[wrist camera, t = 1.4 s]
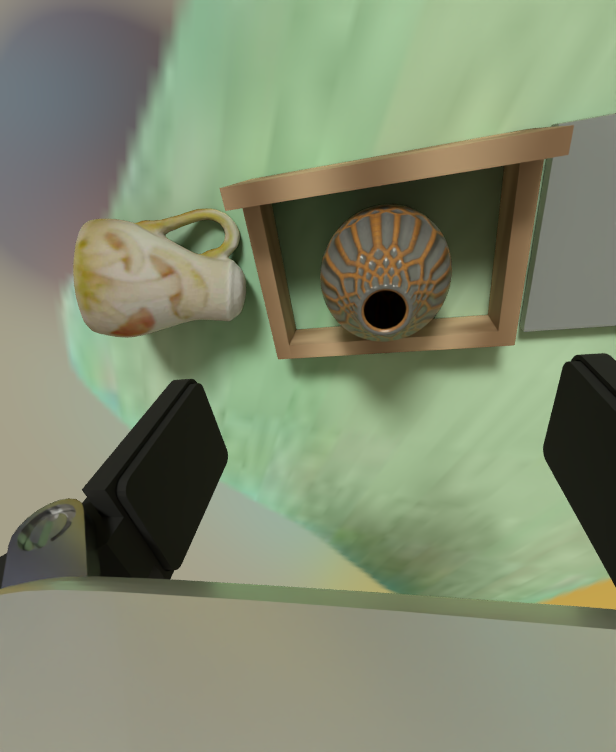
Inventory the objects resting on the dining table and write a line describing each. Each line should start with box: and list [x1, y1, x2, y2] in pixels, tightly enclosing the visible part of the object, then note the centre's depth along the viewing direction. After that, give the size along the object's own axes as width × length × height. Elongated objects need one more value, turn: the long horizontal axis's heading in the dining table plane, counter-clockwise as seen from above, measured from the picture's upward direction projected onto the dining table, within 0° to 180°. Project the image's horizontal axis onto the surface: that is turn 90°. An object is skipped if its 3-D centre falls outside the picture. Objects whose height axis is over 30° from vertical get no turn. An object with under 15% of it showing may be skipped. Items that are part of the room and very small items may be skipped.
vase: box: [320, 204, 452, 342], centre depth 19 cm, size 7×7×9 cm
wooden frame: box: [220, 125, 574, 359], centre depth 20 cm, size 15×11×5 cm
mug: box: [73, 209, 246, 337], centre depth 23 cm, size 8×10×10 cm
